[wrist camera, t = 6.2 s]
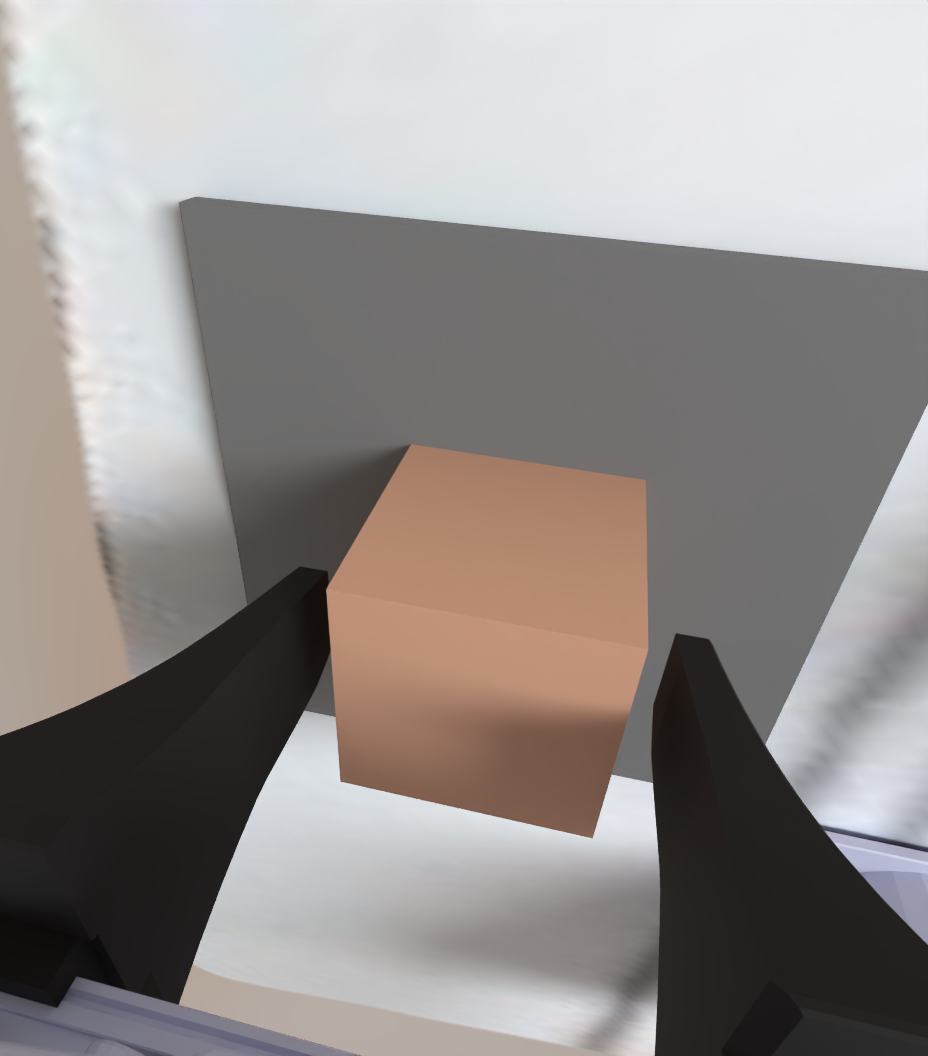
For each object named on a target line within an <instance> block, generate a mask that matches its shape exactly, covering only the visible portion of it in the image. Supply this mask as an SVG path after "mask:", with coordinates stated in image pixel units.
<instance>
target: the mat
mask: <svg viewBox="0 0 928 1056" xmlns="http://www.w3.org/2000/svg"><path fill="white" fill-rule="evenodd" d="M179 204H180V210H181V216H182V222H183V228H184V233H185V239H186V245H187V251H188V257H189V263H190V269H191V275H192V281H193V286H194V292H195V298H196V304H197V310H198V316H199V322H200V328H201V333H202V339H203V345H204V351H205V357H206V363H207V369H208V375H209V380H210V386H211V392H212V398H213V404H214V410H215V416H216V422H217V427H218V433H219V439H220V445H221V451H222V457H223V463H224V469H225V474H226V480H227V486H228V492H229V498H230V504H231V510H232V516H233V521H234V527H235V533H236V539H237V545H238V551H239V557H240V563H241V569H242V574H243V580H244V586H245V592H246V598H247V604H248V605H249V604H250V603H252V602H253V601H254V600H256V599H257V598H258V597H260V596H261V595H262V594H264V593H265V592H266V591H268V590H269V589H270V588H271V587H273V586H274V585H275V584H277V583H278V582H279V581H281V580H282V579H283V578H285V577H286V576H287V575H289V574H290V573H291V572H293V571H294V570H295V569H297V568H298V567H300V566H301V567H307V568H312V569H318V570H324V571H328V580H329V584H330V582H331V580H332V579H333V577H334V575H335V573H336V572H337V570H338V568H339V567H340V565H341V563H342V562H343V560H344V558H345V556H346V555H347V553H348V551H349V550H350V548H351V546H352V544H353V543H354V541H355V539H356V538H357V536H358V534H359V532H360V531H361V529H362V527H363V526H364V524H365V522H366V520H367V519H368V517H369V515H370V514H371V512H372V510H373V509H374V507H375V505H376V503H377V502H378V500H379V498H380V497H381V495H382V493H383V491H384V490H385V488H386V486H387V485H388V483H389V481H390V479H391V478H392V476H393V474H394V473H395V471H396V469H397V467H398V466H399V464H400V462H401V461H402V459H403V457H404V456H405V454H406V452H407V450H408V449H409V447H410V445H411V444H413V445H420V446H427V447H433V448H440V449H446V450H453V451H459V452H466V453H472V454H479V455H485V456H492V457H498V458H505V459H511V460H518V461H524V462H531V463H537V464H544V465H551V466H557V467H564V468H570V469H577V470H583V471H590V472H596V473H603V474H609V475H616V476H622V477H629V478H635V479H642V480H646V517H647V585H648V652H647V656H646V659H645V663H644V666H643V669H642V673H641V676H640V679H639V683H638V686H637V690H636V693H635V696H634V700H633V703H632V707H631V710H630V713H629V717H628V720H627V723H626V727H625V730H624V734H623V737H622V740H621V744H620V747H619V750H618V754H617V757H616V761H615V764H614V767H613V771H612V774H613V775H617V776H622V777H627V778H632V779H637V780H641V781H646V782H651V783H653V776H652V762H651V741H652V718H653V704H654V701H655V698H656V695H657V691H658V688H659V685H660V682H661V679H662V675H663V672H664V669H665V666H666V663H667V660H668V656H669V653H670V650H671V647H672V644H673V640H674V637H675V634H676V633H678V634H684V635H689V636H695V637H701V638H706V639H709V640H710V641H711V643H712V644H713V646H714V648H715V650H716V653H717V655H718V657H719V659H720V661H721V663H722V666H723V668H724V670H725V672H726V674H727V676H728V678H729V680H730V682H731V684H732V686H733V688H734V690H735V692H736V694H737V696H738V698H739V700H740V701H741V703H742V705H743V707H744V709H745V711H746V713H747V714H748V716H749V718H750V720H751V721H752V723H753V725H754V727H755V728H756V730H757V732H758V734H759V735H760V737H761V739H762V741H763V742H764V744H766V742H767V740H768V738H769V735H770V733H771V731H772V729H773V727H774V725H775V723H776V721H777V719H778V717H779V714H780V712H781V710H782V708H783V706H784V704H785V702H786V700H787V698H788V696H789V693H790V691H791V689H792V687H793V685H794V683H795V681H796V679H797V677H798V675H799V672H800V670H801V668H802V666H803V664H804V662H805V660H806V658H807V656H808V654H809V652H810V649H811V647H812V645H813V643H814V641H815V639H816V637H817V635H818V633H819V631H820V628H821V626H822V624H823V622H824V620H825V618H826V616H827V614H828V612H829V610H830V607H831V605H832V603H833V601H834V599H835V597H836V595H837V593H838V591H839V589H840V586H841V584H842V582H843V580H844V578H845V576H846V574H847V572H848V570H849V568H850V565H851V563H852V561H853V559H854V557H855V555H856V553H857V551H858V549H859V547H860V545H861V542H862V540H863V538H864V536H865V534H866V532H867V530H868V528H869V526H870V524H871V521H872V519H873V517H874V515H875V513H876V511H877V509H878V507H879V505H880V503H881V500H882V498H883V496H884V494H885V492H886V490H887V488H888V486H889V484H890V482H891V479H892V477H893V475H894V473H895V471H896V469H897V467H898V465H899V463H900V461H901V458H902V456H903V454H904V452H905V450H906V448H907V446H908V444H909V442H910V440H911V438H912V435H913V433H914V431H915V429H916V427H917V425H918V423H919V421H920V419H921V417H922V414H923V412H924V410H925V408H926V406H927V404H928V271H921V270H912V269H902V268H892V267H882V266H872V265H862V264H852V263H843V262H833V261H823V260H813V259H803V258H793V257H783V256H774V255H764V254H754V253H744V252H734V251H724V250H714V249H704V248H695V247H685V246H675V245H665V244H655V243H645V242H635V241H626V240H616V239H606V238H596V237H586V236H576V235H566V234H557V233H547V232H537V231H527V230H517V229H507V228H497V227H488V226H478V225H468V224H458V223H448V222H438V221H428V220H418V219H409V218H399V217H389V216H379V215H369V214H359V213H349V212H340V211H330V210H320V209H310V208H300V207H290V206H280V205H271V204H261V203H251V202H241V201H231V200H221V199H211V198H202V197H194V198H191V199H188V200H185V201H182V202H179ZM305 711H310V712H315V713H320V714H325V715H329V716H334V717H336V713H335V700H334V686H333V673H332V660H331V652H330V654H329V657H328V660H327V662H326V665H325V668H324V670H323V673H322V675H321V678H320V680H319V683H318V685H317V687H316V689H315V691H314V693H313V695H312V697H311V699H310V701H309V702H308V704H307V706H306V708H305Z"/></svg>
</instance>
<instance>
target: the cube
mask: <svg viewBox="0 0 928 1056" xmlns="http://www.w3.org/2000/svg"><path fill="white" fill-rule="evenodd" d="M326 593H327V606H328V620H329V633H330V646H331V660H332V673H333V686H334V700H335V713H336V726H337V739H338V753H339V766H340V779H341V782H345V783H350V784H354V785H359V786H363V787H367V788H372V789H376V790H381V791H385V792H390V793H394V794H399V795H403V796H407V797H412V798H416V799H421V800H425V801H430V802H434V803H439V804H443V805H447V806H452V807H456V808H461V809H465V810H470V811H474V812H479V813H483V814H487V815H492V816H496V817H501V818H505V819H510V820H514V821H519V822H523V823H527V824H532V825H536V826H541V827H545V828H550V829H554V830H558V831H563V832H567V833H572V834H576V835H581V836H585V837H590V838H593V835H594V832H595V828H596V825H597V821H598V818H599V815H600V811H601V808H602V805H603V801H604V798H605V794H606V791H607V788H608V784H609V781H610V777H611V774H612V771H613V767H614V764H615V761H616V757H617V754H618V750H619V747H620V744H621V740H622V737H623V734H624V730H625V727H626V723H627V720H628V717H629V713H630V710H631V707H632V703H633V700H634V696H635V693H636V690H637V686H638V683H639V679H640V676H641V673H642V669H643V666H644V663H645V659H646V656H647V652H648V585H647V517H646V480H642V479H635V478H629V477H622V476H616V475H609V474H603V473H596V472H590V471H583V470H577V469H570V468H564V467H557V466H551V465H544V464H537V463H531V462H524V461H518V460H511V459H505V458H498V457H492V456H485V455H479V454H472V453H466V452H459V451H453V450H446V449H440V448H433V447H427V446H420V445H413V444H411V445H410V447H409V449H408V450H407V452H406V454H405V456H404V457H403V459H402V461H401V462H400V464H399V466H398V467H397V469H396V471H395V473H394V474H393V476H392V478H391V479H390V481H389V483H388V485H387V486H386V488H385V490H384V491H383V493H382V495H381V497H380V498H379V500H378V502H377V503H376V505H375V507H374V509H373V510H372V512H371V514H370V515H369V517H368V519H367V520H366V522H365V524H364V526H363V527H362V529H361V531H360V532H359V534H358V536H357V538H356V539H355V541H354V543H353V544H352V546H351V548H350V550H349V551H348V553H347V555H346V556H345V558H344V560H343V562H342V563H341V565H340V567H339V568H338V570H337V572H336V573H335V575H334V577H333V579H332V580H331V582H330V584H329V585H328V587H327V589H326Z"/></svg>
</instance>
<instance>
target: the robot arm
mask: <svg viewBox="0 0 928 1056" xmlns="http://www.w3.org/2000/svg"><path fill="white" fill-rule="evenodd" d="M328 585H329V580H328V571H324V570H318V569H312V568H307V567H301V566H300V567H298V568H297V569H295V570H294V571H293V572H291V573H290V574H289V575H287V576H286V577H285V578H283V579H282V580H281V581H279V582H278V583H277V584H275V585H274V586H273V587H271V588H270V589H269V590H268V591H266V592H265V593H264V594H262V595H261V596H260V597H258V598H257V599H256V600H254V601H253V602H252V603H250V604H249V605H248V606H246V607H245V608H244V609H242V610H241V611H240V612H238V613H237V614H235V615H234V616H233V617H231V618H230V619H229V620H227V621H226V622H224V623H223V624H222V625H220V626H219V627H217V628H216V629H215V630H213V631H212V632H210V633H209V634H207V635H206V636H204V637H203V638H201V639H200V640H198V641H197V642H195V643H193V644H192V645H190V646H189V647H187V648H186V649H184V650H183V651H181V652H180V653H178V654H177V655H175V656H173V657H172V658H170V659H168V660H166V661H165V662H163V663H161V664H160V665H158V666H156V667H154V668H152V669H151V670H149V671H147V672H145V673H143V674H142V675H140V676H138V677H136V678H134V679H132V680H130V681H128V682H127V683H125V684H123V685H121V686H118V687H116V688H114V689H112V690H110V691H108V692H106V693H104V694H102V695H99V696H97V697H95V698H93V699H91V700H89V701H87V702H85V703H82V704H80V705H78V706H76V707H74V708H71V709H69V710H67V711H64V712H62V713H59V714H57V715H55V716H52V717H50V718H47V719H44V720H42V721H39V722H37V723H34V724H32V725H29V726H26V727H24V728H21V729H18V730H16V731H13V732H10V733H7V734H4V735H2V736H0V1056H360V1055H357V1054H353V1053H350V1052H346V1051H342V1050H339V1049H335V1048H332V1047H328V1046H324V1045H321V1044H317V1043H314V1042H310V1041H306V1040H303V1039H299V1038H296V1037H292V1036H289V1035H285V1034H281V1033H277V1032H274V1031H271V1030H267V1029H263V1028H259V1027H256V1026H252V1025H249V1024H245V1023H242V1022H238V1021H235V1020H231V1019H227V1018H224V1017H220V1016H217V1015H213V1014H209V1013H206V1012H202V1011H199V1010H195V1009H191V1008H188V1007H184V1006H181V1005H179V1002H180V998H181V996H182V993H183V990H184V987H185V984H186V981H187V978H188V975H189V973H190V970H191V967H192V964H193V961H194V958H195V955H196V952H197V950H198V947H199V944H200V941H201V938H202V936H203V933H204V930H205V928H206V925H207V922H208V920H209V917H210V914H211V911H212V909H213V906H214V903H215V901H216V898H217V895H218V893H219V890H220V887H221V885H222V882H223V880H224V877H225V875H226V872H227V870H228V867H229V865H230V862H231V860H232V857H233V855H234V852H235V850H236V847H237V845H238V842H239V840H240V838H241V835H242V833H243V830H244V828H245V826H246V823H247V821H248V819H249V816H250V814H251V812H252V809H253V807H254V804H255V802H256V800H257V797H258V795H259V793H260V791H261V789H262V787H263V785H264V783H265V781H266V779H267V777H268V775H269V774H270V772H271V770H272V768H273V766H274V765H275V763H276V761H277V759H278V757H279V755H280V754H281V752H282V750H283V748H284V746H285V744H286V743H287V741H288V739H289V737H290V735H291V734H292V732H293V730H294V728H295V726H296V724H297V723H298V721H299V719H300V717H301V715H302V713H303V712H304V710H305V708H306V706H307V704H308V702H309V701H310V699H311V697H312V695H313V693H314V691H315V689H316V687H317V685H318V683H319V680H320V678H321V675H322V673H323V670H324V668H325V665H326V662H327V660H328V657H329V654H330V652H331V646H330V633H329V620H328V606H327V593H326V589H327V587H328ZM651 762H652V776H653V789H654V802H655V815H656V827H657V840H658V852H659V865H660V936H659V969H658V999H657V1021H656V1043H655V1056H928V852H924V851H919V850H914V849H910V848H905V847H900V846H895V845H891V844H886V843H881V842H876V841H872V840H867V839H862V838H857V837H853V836H848V835H843V834H838V833H834V832H829V831H824V830H823V828H822V827H821V826H820V825H819V823H818V822H817V820H816V819H815V818H814V816H813V815H812V814H811V812H810V811H809V810H808V808H807V807H806V806H805V804H804V803H803V802H802V800H801V799H800V797H799V796H798V795H797V793H796V792H795V790H794V789H793V787H792V786H791V784H790V783H789V781H788V780H787V779H786V777H785V775H784V774H783V772H782V771H781V769H780V768H779V766H778V765H777V763H776V762H775V760H774V758H773V757H772V755H771V754H770V752H769V750H768V749H767V747H766V745H765V744H764V742H763V741H762V739H761V737H760V735H759V734H758V732H757V730H756V728H755V727H754V725H753V723H752V721H751V720H750V718H749V716H748V714H747V713H746V711H745V709H744V707H743V705H742V703H741V701H740V700H739V698H738V696H737V694H736V692H735V690H734V688H733V686H732V684H731V682H730V680H729V678H728V676H727V674H726V672H725V670H724V668H723V666H722V663H721V661H720V659H719V657H718V655H717V653H716V650H715V648H714V646H713V644H712V643H711V641H710V640H709V639H706V638H701V637H695V636H689V635H684V634H678V633H676V634H675V637H674V640H673V644H672V647H671V650H670V653H669V656H668V660H667V663H666V666H665V669H664V672H663V675H662V679H661V682H660V685H659V688H658V691H657V695H656V698H655V701H654V704H653V718H652V741H651Z"/></svg>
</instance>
